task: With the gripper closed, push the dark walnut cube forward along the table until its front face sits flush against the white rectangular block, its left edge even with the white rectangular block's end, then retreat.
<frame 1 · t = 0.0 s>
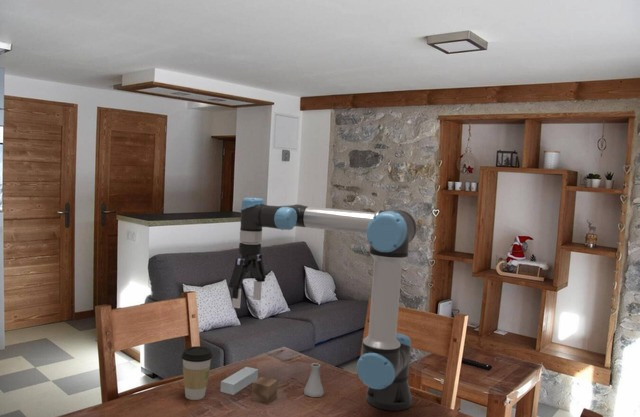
hand: (246, 303, 186), 28 cm above the table, fingers open, 13 cm apart
walnut block: (264, 399, 176), on the table
flask: (313, 393, 183), on the table
white rectangular block: (239, 385, 186), on the table
coffee cup: (195, 396, 175), on the table
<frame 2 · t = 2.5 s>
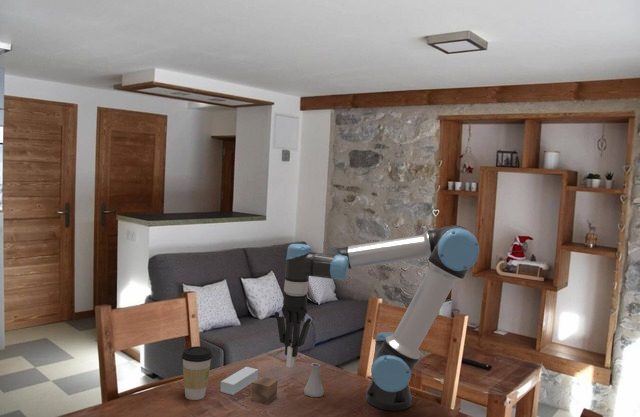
hand: (290, 365, 172), 13 cm above the table, fingers closed
nothing on the table moved.
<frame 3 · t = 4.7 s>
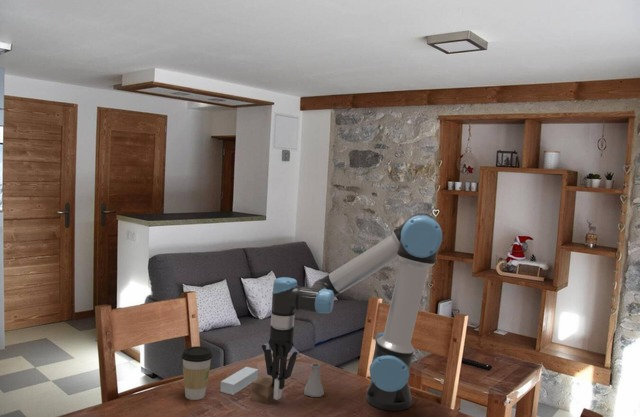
hand: (277, 397, 174), 2 cm above the table, fingers closed
walnut block: (263, 398, 176), on the table, touching gripper
everything else where it was.
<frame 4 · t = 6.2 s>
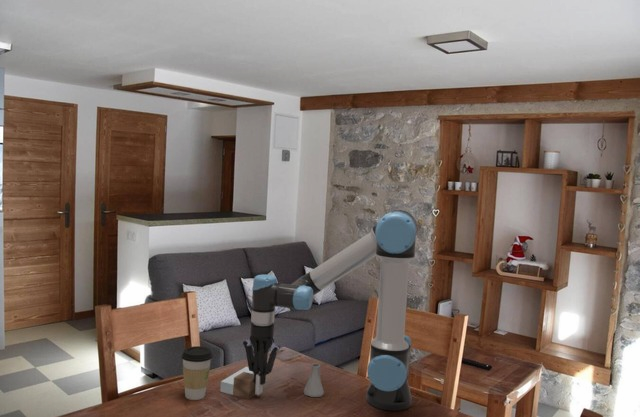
hand: (258, 393, 177), 1 cm above the table, fingers closed
walnut block: (245, 394, 179), on the table, touching white rectangular block, gripper
everything else where it was.
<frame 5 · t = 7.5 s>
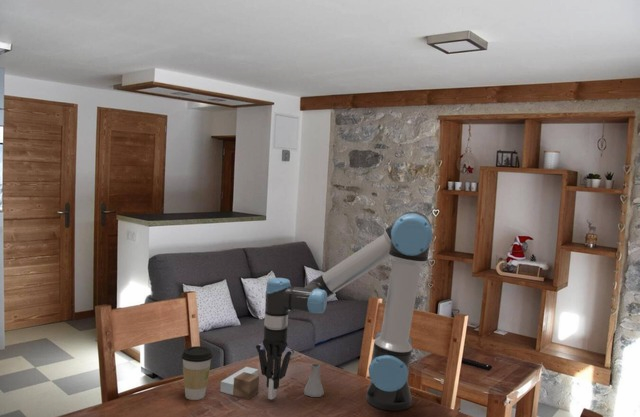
hand: (272, 397, 175), 1 cm above the table, fingers closed
walnut block: (245, 394, 179), on the table
everything else where it was.
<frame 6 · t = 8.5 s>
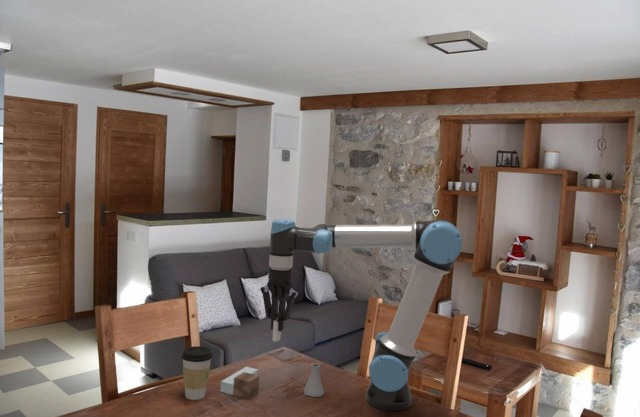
hand: (276, 340, 173), 20 cm above the table, fingers closed
nothing on the table moved.
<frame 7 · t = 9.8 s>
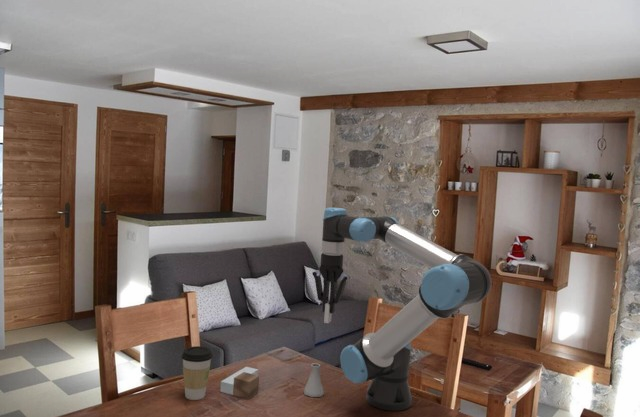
hand: (327, 321, 183), 24 cm above the table, fingers closed
nothing on the table moved.
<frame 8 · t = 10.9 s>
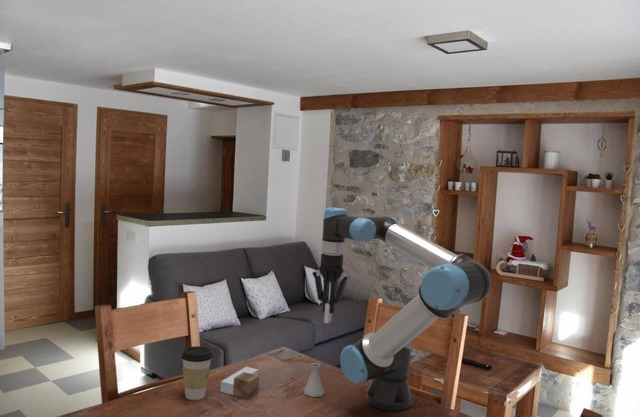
hand: (327, 321, 183), 24 cm above the table, fingers closed
nothing on the table moved.
at the end: walnut block 0.8 cm from the target spot on the table beside the white rectangular block, on the table; walnut block tilted 0° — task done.
